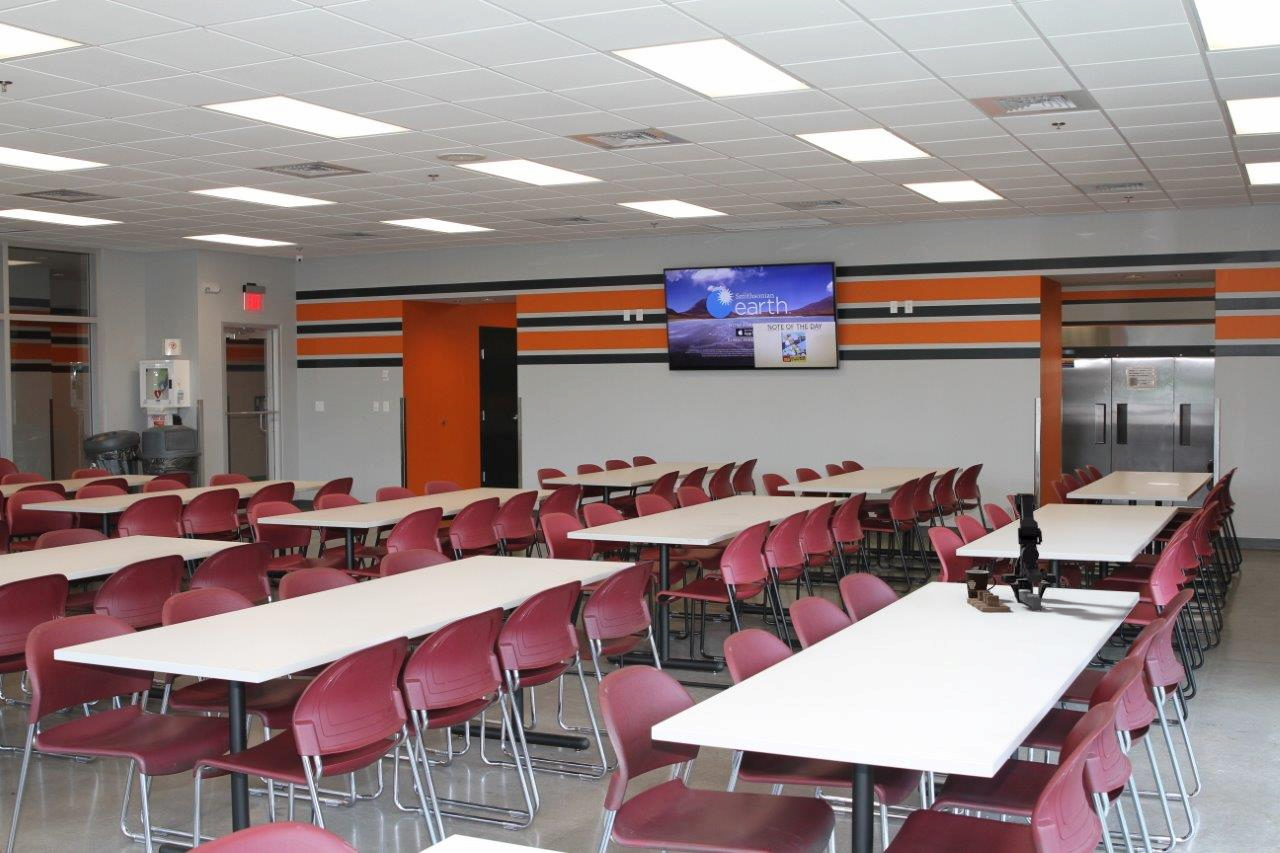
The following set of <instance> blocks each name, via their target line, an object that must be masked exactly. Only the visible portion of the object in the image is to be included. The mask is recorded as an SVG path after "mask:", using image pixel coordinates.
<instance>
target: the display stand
mask: <svg viewBox="0 0 1280 853" xmlns="http://www.w3.org/2000/svg"><path fill="white" fill-rule="evenodd" d="M966 603H967V604H968V605H971V606H972V607H973V608H975V609H977V610H978V611H980V612H981V613H1008V612H1009V613H1010V612H1011V607H1010V606H1008V605H1006V604H1005V603H1003V602H1001V601H1000V596H999V595H995V594H994V593H993V592H991V590H989V591H978V599H970V598H967V599H966Z"/></svg>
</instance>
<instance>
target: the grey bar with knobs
mask: <svg viewBox="0 0 1280 853" xmlns="http://www.w3.org/2000/svg"><path fill="white" fill-rule="evenodd" d="M1016 603H1018V604H1027V605H1029V606H1031V611H1032V610H1041V611H1042V599H1041V598H1040V597H1039V594H1038V593H1033V594H1032V593H1030V590H1019V602H1017V601H1016Z"/></svg>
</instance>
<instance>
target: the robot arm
mask: <svg viewBox="0 0 1280 853" xmlns="http://www.w3.org/2000/svg"><path fill="white" fill-rule="evenodd" d="M1012 501H1013V502H1012V503H1013V506H1015V512H1016V513H1017V515H1018V516H1019V527H1017V541H1018V542H1017V543H1018V545H1019V556H1018V557H1017V559H1016V561H1015V565H1013V573H1002V574H1001V575H1000V582H1002V583H1004V584H1007V585H1008V586H1010V587H1011V590H1012V592H1013V595H1014V597H1015V599H1016V603H1017V602H1019V590H1030V593H1032V594H1034V583H1037V584H1038V586H1037V588H1038V589H1037V594H1039V597H1040V598H1041V600H1042V599H1043V597H1044V593H1045V591H1046V590H1047V588H1048V587H1049V586H1052V584H1057V583H1058V577H1057V576H1056V575H1055V574H1053V573H1048V569H1047V568H1039V563H1038V560H1039V558H1040V552H1039V550H1038V546H1041V543H1043V532H1042V530H1041V528H1040V527H1039V524H1038V521H1036V520H1035V517H1034V512H1035V510H1036V506H1038V495H1036V494H1035V495H1034V493H1032V492H1031V493H1030V492H1028V493H1026V492H1025V493H1022V492H1017V493H1016V494H1014V495H1013V500H1012Z"/></svg>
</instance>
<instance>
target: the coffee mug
mask: <svg viewBox="0 0 1280 853" xmlns="http://www.w3.org/2000/svg"><path fill="white" fill-rule="evenodd" d="M964 572H965V580H966V581H965V582H966V589H967V595H968V598H967V599H978V591H991V590H992V589H993V588H995V586H996V585H997V579H996V578H995V577H994V576H992V575H991V576H989V574H990V571H988V570H983V569H982V570H980V569H978V570H977V569H972V570H971V569H969V570H965V571H964ZM990 579H993V581H994V584H993V585H992V586H991V587H988V583H989V580H990Z"/></svg>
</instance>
